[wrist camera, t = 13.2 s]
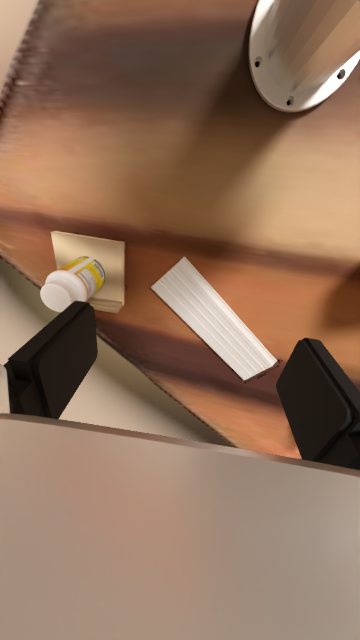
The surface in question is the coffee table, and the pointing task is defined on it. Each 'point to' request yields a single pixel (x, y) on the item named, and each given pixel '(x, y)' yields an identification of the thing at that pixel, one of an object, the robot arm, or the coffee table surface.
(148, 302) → the coffee table surface
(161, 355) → the coffee table surface
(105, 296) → the shelf
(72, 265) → the supplement bottle
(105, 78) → the coffee table surface
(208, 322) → the baseboard
